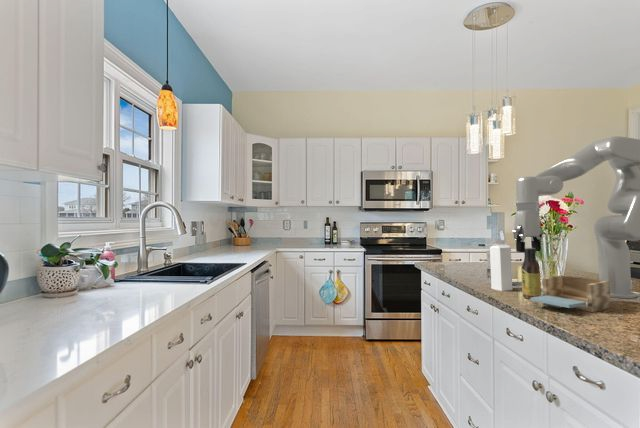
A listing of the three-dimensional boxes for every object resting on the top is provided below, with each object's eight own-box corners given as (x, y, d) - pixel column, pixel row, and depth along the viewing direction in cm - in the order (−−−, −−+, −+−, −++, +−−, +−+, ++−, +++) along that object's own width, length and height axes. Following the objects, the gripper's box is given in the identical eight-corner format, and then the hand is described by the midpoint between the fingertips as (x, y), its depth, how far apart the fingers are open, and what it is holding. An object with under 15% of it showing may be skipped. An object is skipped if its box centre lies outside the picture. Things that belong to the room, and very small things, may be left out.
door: (547, 300, 124) (547, 295, 124) (585, 307, 113) (585, 302, 113) (530, 302, 120) (530, 297, 120) (568, 310, 109) (568, 304, 109)
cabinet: (562, 298, 131) (561, 275, 131) (610, 307, 117) (609, 281, 117) (542, 302, 126) (541, 278, 126) (591, 312, 112) (590, 285, 112)
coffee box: (498, 285, 159) (497, 251, 159) (487, 283, 165) (485, 250, 165) (512, 283, 162) (510, 250, 163) (500, 281, 168) (498, 249, 169)
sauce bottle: (524, 295, 137) (521, 247, 138) (542, 297, 133) (540, 247, 134) (521, 299, 132) (519, 248, 133) (540, 301, 128) (537, 248, 129)
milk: (512, 290, 149) (511, 240, 149) (501, 291, 147) (500, 240, 147) (501, 287, 154) (500, 239, 155) (490, 288, 153) (489, 240, 153)
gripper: (531, 208, 141) (532, 249, 140) (504, 208, 133) (505, 251, 133) (550, 208, 134) (551, 251, 134) (523, 207, 126) (524, 253, 126)
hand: (528, 251), depth 133 cm, fingers open, 9 cm apart
